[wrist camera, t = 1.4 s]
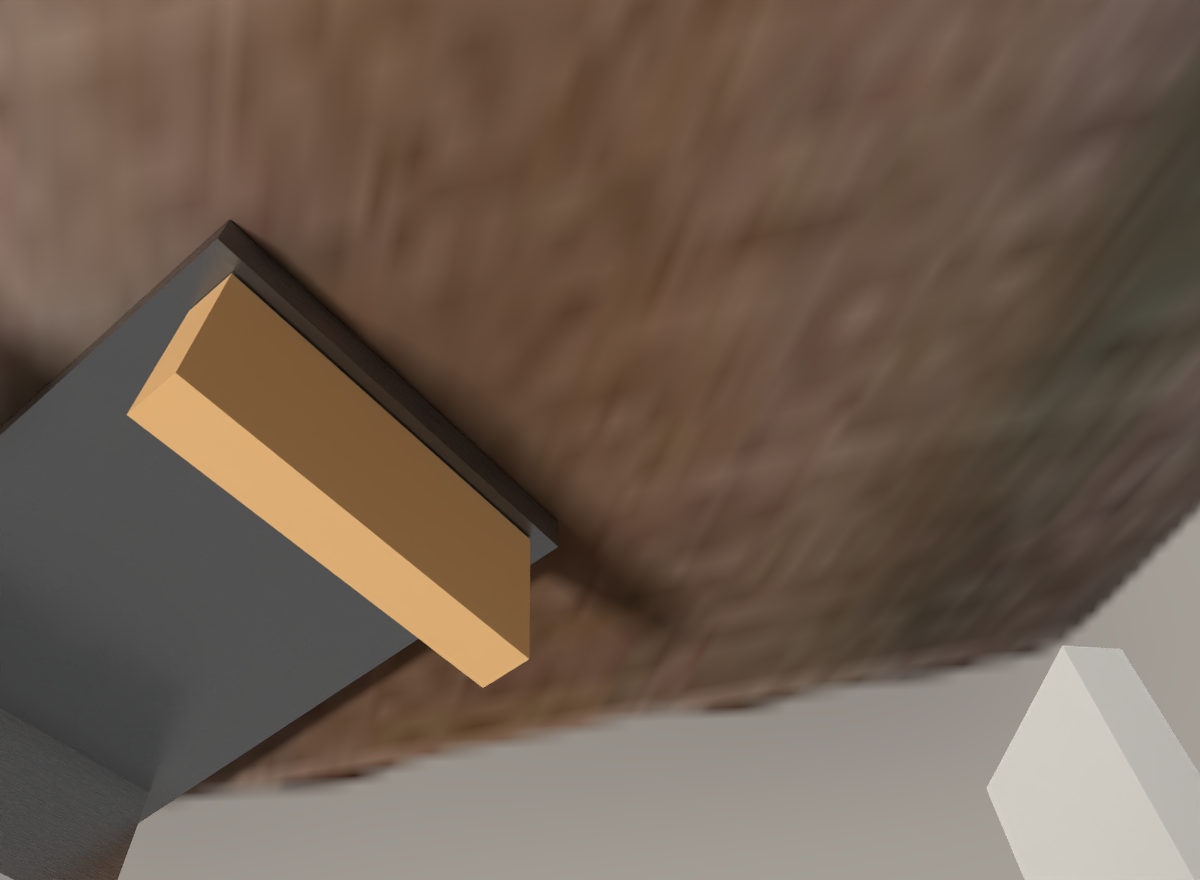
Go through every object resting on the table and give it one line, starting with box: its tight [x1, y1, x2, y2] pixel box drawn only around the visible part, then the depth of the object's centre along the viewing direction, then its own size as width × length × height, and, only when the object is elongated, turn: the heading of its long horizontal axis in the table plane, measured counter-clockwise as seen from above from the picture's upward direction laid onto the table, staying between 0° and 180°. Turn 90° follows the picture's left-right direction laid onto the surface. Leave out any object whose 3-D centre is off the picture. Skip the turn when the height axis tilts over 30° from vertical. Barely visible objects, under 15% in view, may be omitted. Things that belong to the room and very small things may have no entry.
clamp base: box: [0, 220, 558, 880], centre depth 37 cm, size 16×25×8 cm, turn 129°
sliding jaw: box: [127, 273, 530, 688], centre depth 33 cm, size 14×2×6 cm, turn 39°
